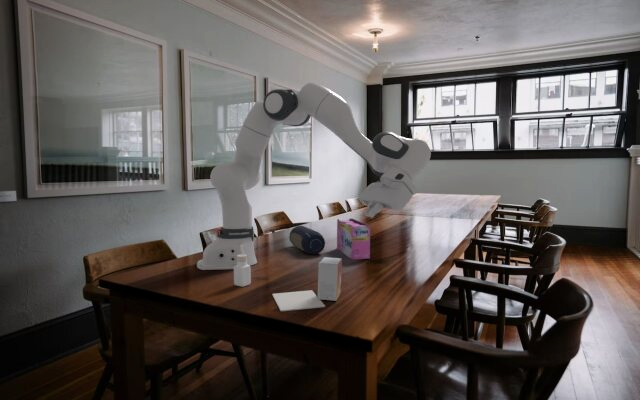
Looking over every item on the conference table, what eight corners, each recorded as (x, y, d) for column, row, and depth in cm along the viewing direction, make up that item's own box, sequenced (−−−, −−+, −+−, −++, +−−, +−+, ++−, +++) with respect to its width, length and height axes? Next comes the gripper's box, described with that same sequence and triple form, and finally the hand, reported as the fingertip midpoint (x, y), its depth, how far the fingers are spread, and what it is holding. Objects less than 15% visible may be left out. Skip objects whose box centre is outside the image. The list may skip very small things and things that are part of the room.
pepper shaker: (242, 287, 124) (241, 257, 124) (233, 285, 127) (232, 255, 126) (251, 284, 128) (250, 255, 127) (242, 282, 130) (242, 253, 129)
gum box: (335, 248, 183) (335, 218, 182) (351, 247, 185) (352, 218, 184) (352, 260, 160) (352, 226, 159) (370, 258, 162) (370, 225, 161)
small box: (336, 301, 111) (338, 264, 110) (316, 299, 112) (318, 262, 111) (341, 293, 119) (342, 258, 118) (322, 291, 120) (323, 256, 119)
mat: (280, 311, 104) (280, 310, 104) (272, 294, 117) (272, 293, 117) (325, 306, 107) (325, 305, 107) (311, 291, 120) (311, 290, 120)
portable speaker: (287, 246, 188) (286, 225, 188) (307, 244, 192) (306, 223, 191) (305, 257, 165) (305, 233, 164) (327, 255, 169) (327, 231, 168)
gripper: (370, 174, 132) (344, 205, 129) (409, 176, 114) (380, 212, 110) (381, 187, 134) (356, 218, 131) (421, 191, 116) (394, 227, 113)
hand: (367, 215), depth 121 cm, fingers closed
